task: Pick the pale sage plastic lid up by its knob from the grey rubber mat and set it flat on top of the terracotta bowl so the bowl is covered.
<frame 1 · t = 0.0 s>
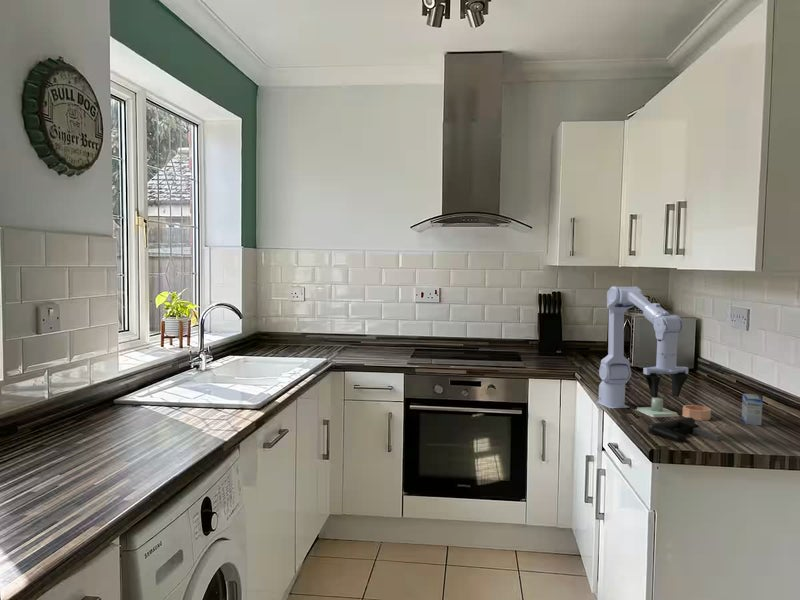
hand: (664, 396, 180), 10 cm above the countertop, tool pointing down, fingers open, 7 cm apart
medicine box: (751, 422, 189), on the countertop
mat: (656, 413, 198), on the countertop
bowl: (696, 418, 193), on the countertop
black dustpan: (687, 436, 174), on the countertop
lid: (656, 412, 198), resting on mat
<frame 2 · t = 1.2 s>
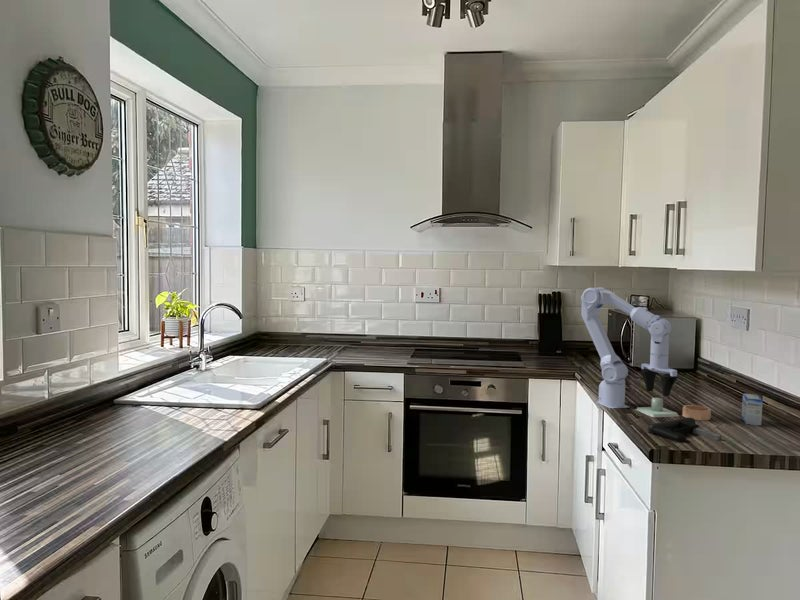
hand: (657, 393, 197), 7 cm above the countertop, tool pointing down, fingers open, 7 cm apart
nothing on the countertop moved.
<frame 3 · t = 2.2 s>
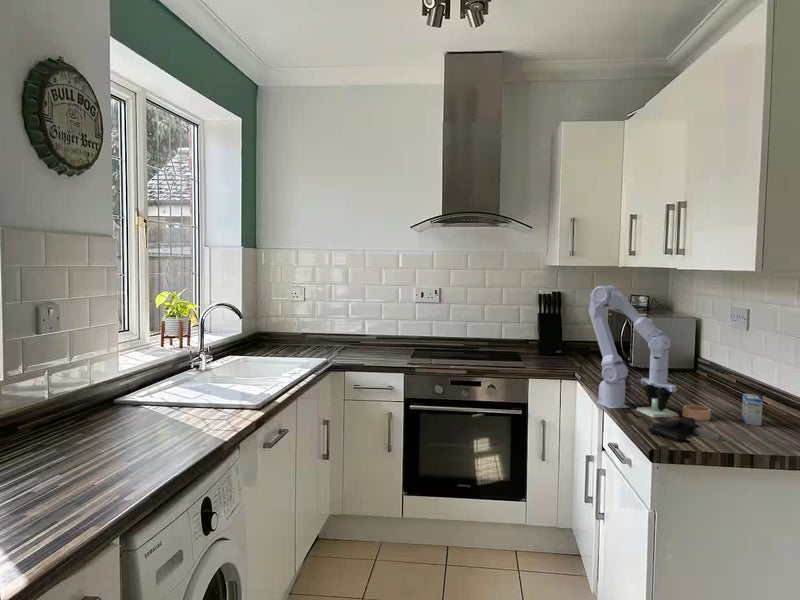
hand: (657, 408, 198), 2 cm above the countertop, tool pointing down, fingers closed on lid, 4 cm apart
lid: (656, 412, 198), resting on mat, touching gripper
everything else where it was.
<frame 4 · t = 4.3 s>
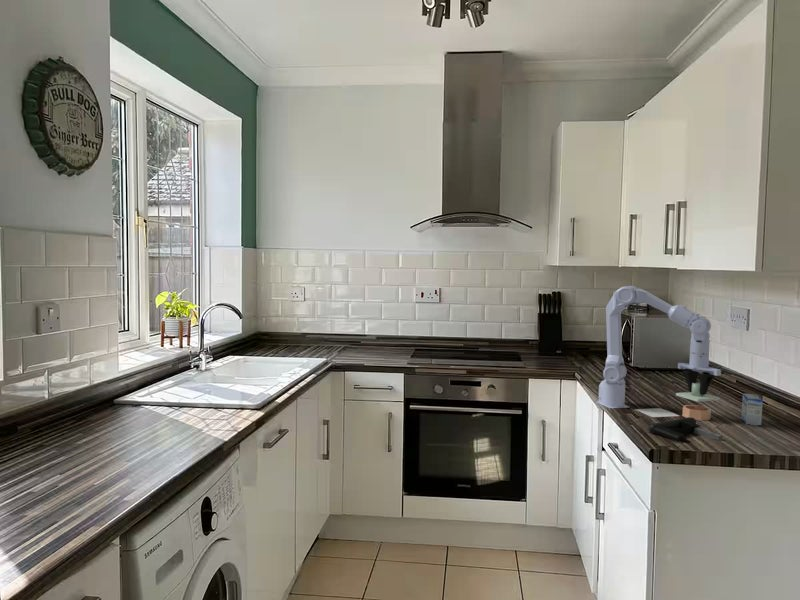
hand: (697, 393, 192), 9 cm above the countertop, tool pointing down, fingers closed on lid, 4 cm apart
lid: (697, 397, 192), point 7 cm above the countertop, touching gripper
everything else where it was.
when the fingers open (6 cm above the countertop, at t = 5.0 s): lid stays where it is, resting on bowl.
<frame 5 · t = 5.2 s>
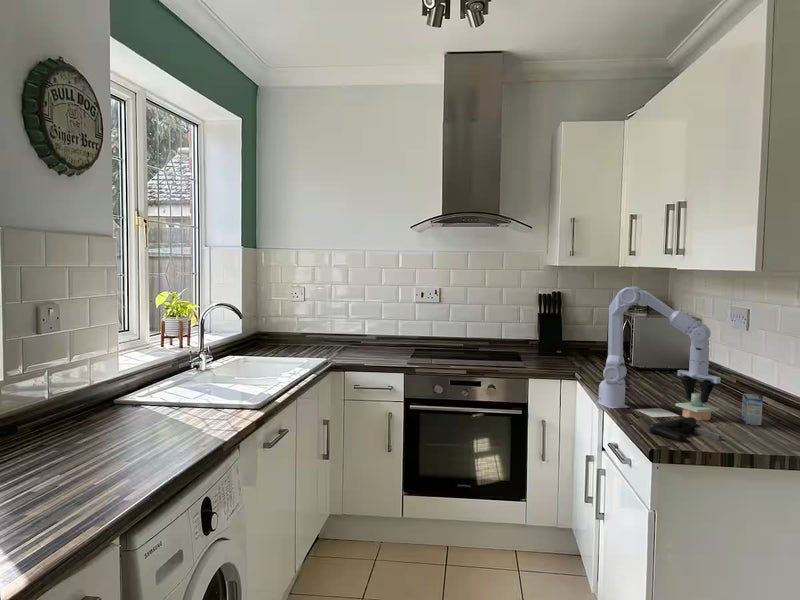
hand: (697, 400, 192), 6 cm above the countertop, tool pointing down, fingers open, 5 cm apart
lid: (696, 408, 193), point 3 cm above the countertop, touching bowl
everything else where it was.
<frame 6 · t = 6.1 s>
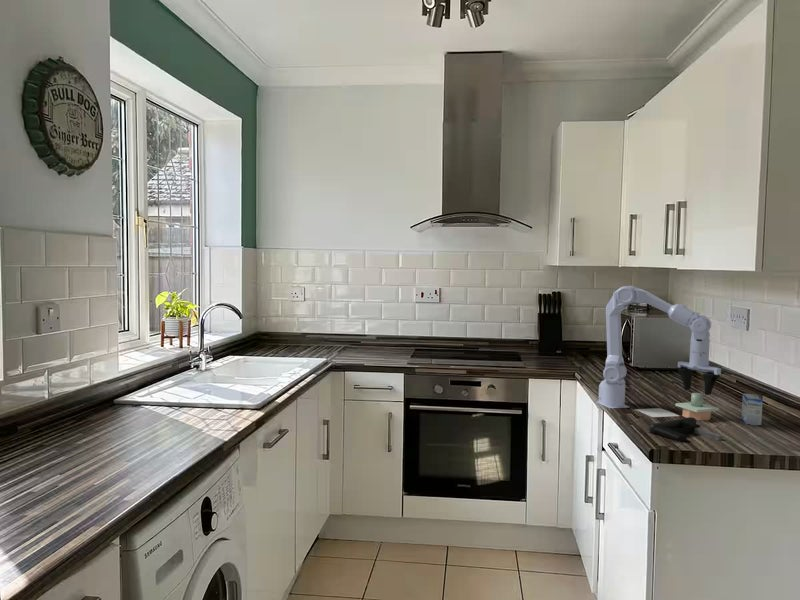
hand: (697, 392, 192), 9 cm above the countertop, tool pointing down, fingers open, 7 cm apart
nothing on the countertop moved.
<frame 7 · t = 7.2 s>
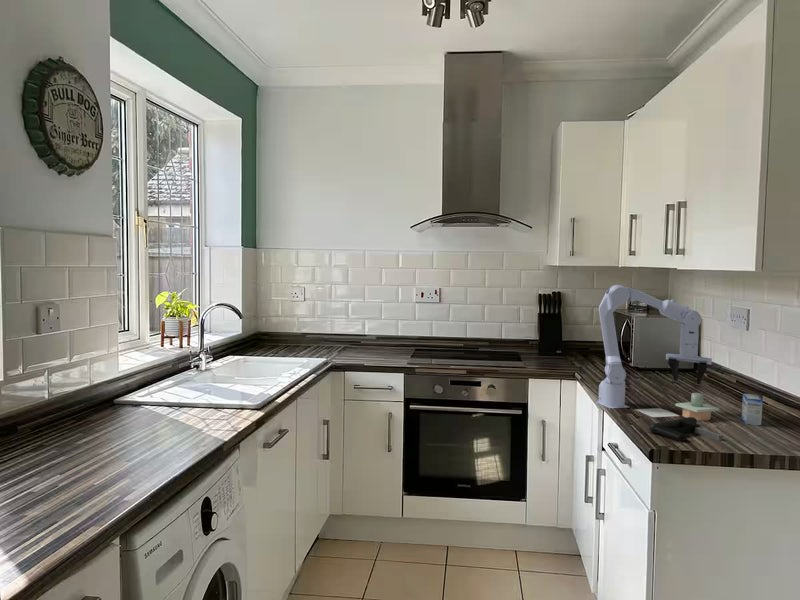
hand: (687, 382, 202), 10 cm above the countertop, tool pointing down, fingers open, 7 cm apart
nothing on the countertop moved.
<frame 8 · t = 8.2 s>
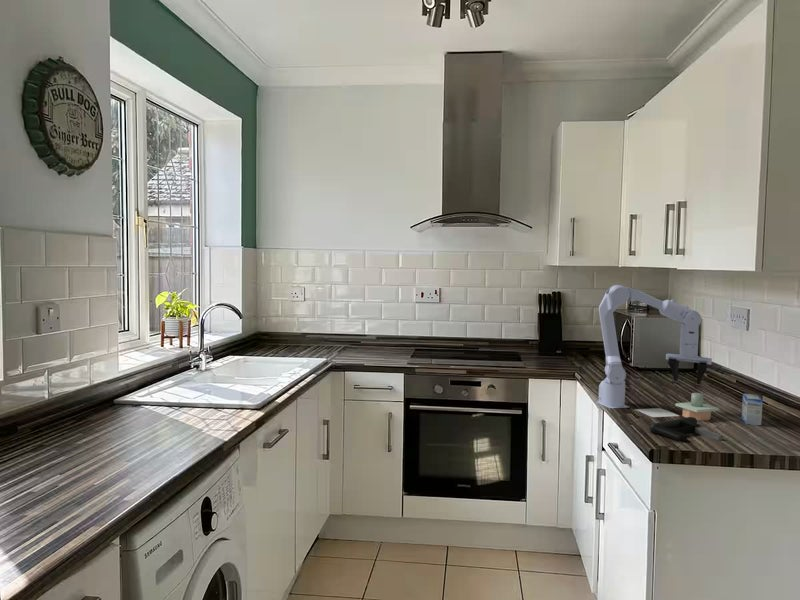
hand: (687, 382, 202), 10 cm above the countertop, tool pointing down, fingers open, 7 cm apart
nothing on the countertop moved.
at the end: lid 0.0 cm off-centre on the bowl, point 3.5 cm above the bowl's base; lid tilted 0°; the gripper is holding nothing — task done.
